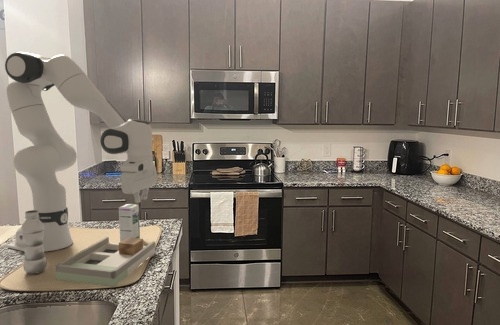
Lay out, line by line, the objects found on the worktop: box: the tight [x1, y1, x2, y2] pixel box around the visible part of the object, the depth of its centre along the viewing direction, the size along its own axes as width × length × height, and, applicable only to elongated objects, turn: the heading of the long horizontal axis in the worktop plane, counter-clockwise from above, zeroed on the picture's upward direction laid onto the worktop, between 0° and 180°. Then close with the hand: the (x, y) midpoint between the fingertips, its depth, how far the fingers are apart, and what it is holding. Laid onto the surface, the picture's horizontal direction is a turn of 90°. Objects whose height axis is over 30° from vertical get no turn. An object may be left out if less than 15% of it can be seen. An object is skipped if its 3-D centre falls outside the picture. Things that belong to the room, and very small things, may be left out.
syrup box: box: [118, 203, 141, 243], centre depth 149 cm, size 6×6×14 cm
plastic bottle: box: [20, 209, 48, 275], centre depth 119 cm, size 6×7×20 cm
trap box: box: [54, 236, 156, 287], centre depth 126 cm, size 20×27×4 cm
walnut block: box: [118, 237, 144, 255], centre depth 132 cm, size 6×6×4 cm
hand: (141, 200), depth 138 cm, fingers open, 3 cm apart
